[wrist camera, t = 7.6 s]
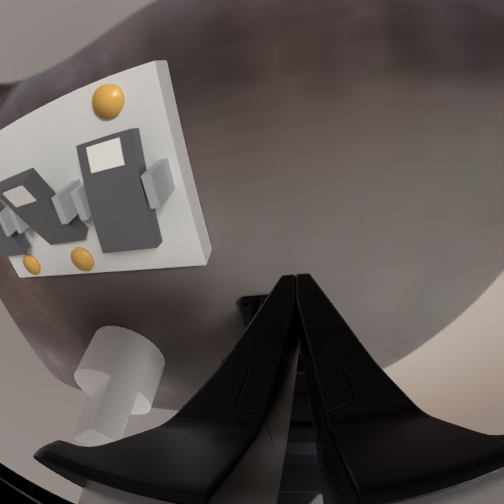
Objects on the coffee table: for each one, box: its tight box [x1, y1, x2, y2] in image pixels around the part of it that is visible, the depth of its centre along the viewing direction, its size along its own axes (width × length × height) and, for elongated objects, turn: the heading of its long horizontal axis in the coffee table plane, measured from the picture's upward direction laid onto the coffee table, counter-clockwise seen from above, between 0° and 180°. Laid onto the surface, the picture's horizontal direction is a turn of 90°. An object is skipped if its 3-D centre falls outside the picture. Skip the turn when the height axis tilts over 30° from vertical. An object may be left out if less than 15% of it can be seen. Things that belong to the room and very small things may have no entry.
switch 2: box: [0, 168, 89, 245], centre depth 18 cm, size 7×4×1 cm, turn 10°
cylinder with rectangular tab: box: [72, 326, 165, 447], centre depth 28 cm, size 9×9×12 cm
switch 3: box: [76, 128, 163, 253], centre depth 17 cm, size 7×4×1 cm, turn 9°
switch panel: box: [0, 60, 212, 277], centre depth 20 cm, size 14×21×5 cm, turn 99°
